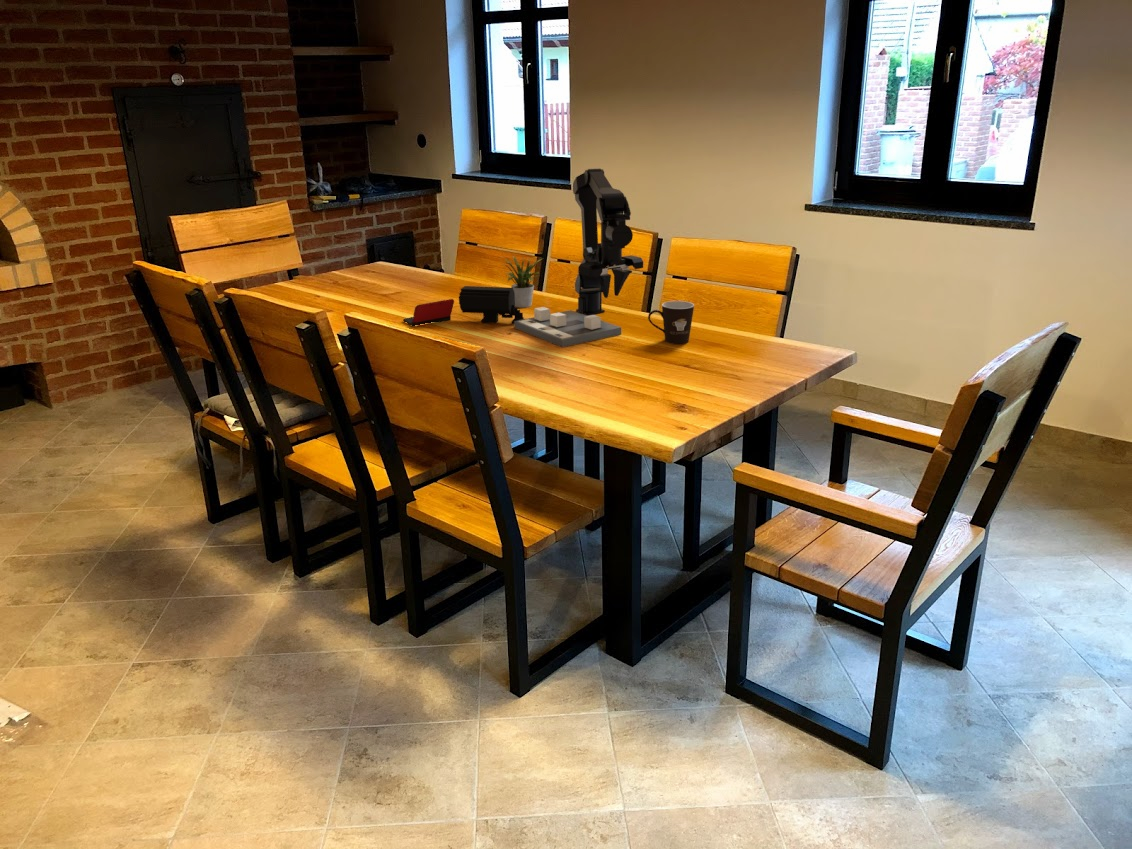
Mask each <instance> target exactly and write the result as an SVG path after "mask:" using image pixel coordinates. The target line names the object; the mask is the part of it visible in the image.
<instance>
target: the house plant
mask: <svg viewBox="0 0 1132 849" xmlns="http://www.w3.org/2000/svg"><path fill="white" fill-rule="evenodd" d="M525 255H526V253H525V254H523V256H522V258H524V257H525ZM501 258H502V259H505V260H506V261H505V263H506V264H507V265H505V264H504V266H506V267H507V268H508V269H509V271H510V272H508V273H506V275H507V276H508V279H507V282H509V281H512V282H513V283H514V284H512V285H511V286H510V288H513V290H514V292H515V307H517V308H522V309H523V308H530V307H531V306H532V303H533V295H534V289H535V285H534V284H532V282H533V280H534V278H536V277H538V276H539V277H540V275H537V274H538V272H533V273H532V272H531V271H532V270H533V269H534V267H535V266H536V265H537V264H539V262H540V261H541V260H543V259H544V258H540V259H538V260H537V261H535V262H534V263H531V264H530V262H531V258H529V257H526V259H522V260H521V265H520V264H519V262H518V260H517V258H516V257H515V256H514V255H512V256H511V259H513V261H514V264H515V266H516V268H515V267H514V265H513V264H512V263H511V261H510V260H509V259H507V258H505V257H502V256H501ZM528 258H529V259H528ZM527 259H528V262H527V264H526V268H525V269H524V263H525V261H526V260H527ZM508 265H509V266H510V267H511V268H512V269H511V268H510V267H509V266H508ZM515 274H516V275H515ZM532 276H533V277H532Z"/></svg>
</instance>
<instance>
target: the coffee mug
mask: <svg viewBox="0 0 1132 849" xmlns="http://www.w3.org/2000/svg"><path fill="white" fill-rule="evenodd" d="M661 309H662V311H661V310H658V309H655V310H651V311H650V312H649V313H648V316H647V319H648V321H649V323H650V324H651V325H652V326H653V327H654V328H656V329H658V330H660V331H661V332H663V336H664V341H665V343H667V344H671V345H685V344H688V343H689V341H690V335H691V329H692V322H693V316H694V310H695V304H694V302H693V303H692V302H690V301H684V300H669V301H666V302H665V301H664V302H663V303H662V304H661ZM655 313H657V314H659V315H660V316H661V318H662V322H663V328H662V327H660V326H658V325H656V324H655V323H653V321H652V320H651V316H652V315H653V314H655Z"/></svg>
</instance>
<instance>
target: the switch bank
mask: <svg viewBox="0 0 1132 849" xmlns="http://www.w3.org/2000/svg"><path fill="white" fill-rule="evenodd" d="M560 313H562V314H565V315H566V325H565V326H560V327H555V326H552V325H550V319H549V320H544V321H539V320H536V319H534V316H533V317H529V318H524V319H523V320H518V321H514V324H513V325H514V326H513V328H514V329H515V330H519V331H521V332H523V333H527V334H529V335H531V336H533V337H536V338H538V339H541V340H544V341H546V342H549V343H551V344H554V345H556V346H559V347H562V348H565V347H569V346H574V345H579V344H585V343H588V342H592V341H597V340H602V339H605V338H610V337H616V336H620V334H621V335H622V326H620V325H619V326H618V325H616V324H613V323H610V322H607V321H604V320H601V328H597V329H592V330H591V329H588V328H585V327H584V317H585V316H588V315H587V314H584V313H581V312H578V311H576V310H572V309H569V310H565V311H560Z"/></svg>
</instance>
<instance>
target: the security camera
mask: <svg viewBox="0 0 1132 849" xmlns="http://www.w3.org/2000/svg"><path fill="white" fill-rule="evenodd" d="M458 295H459V296H458V304H459V309H460V311H461V313H470V314H482V315H483V316H482V317H483V318H482V319H480V323H483V324H485V323H486V324H497V323H498V322H499V316H501V318H504V319H512V320H511V325H514V321H518V320H523V319H525V317H524V312H521V310H520V309H518V308H519V307H516V306H515V292H514V290H513V288H511V287H506V286H501V287H500V286H476V285H475V286H473V285H472V286H471V285H465V286H462V288H460V292H459V294H458ZM513 316H514V318H513Z"/></svg>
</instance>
